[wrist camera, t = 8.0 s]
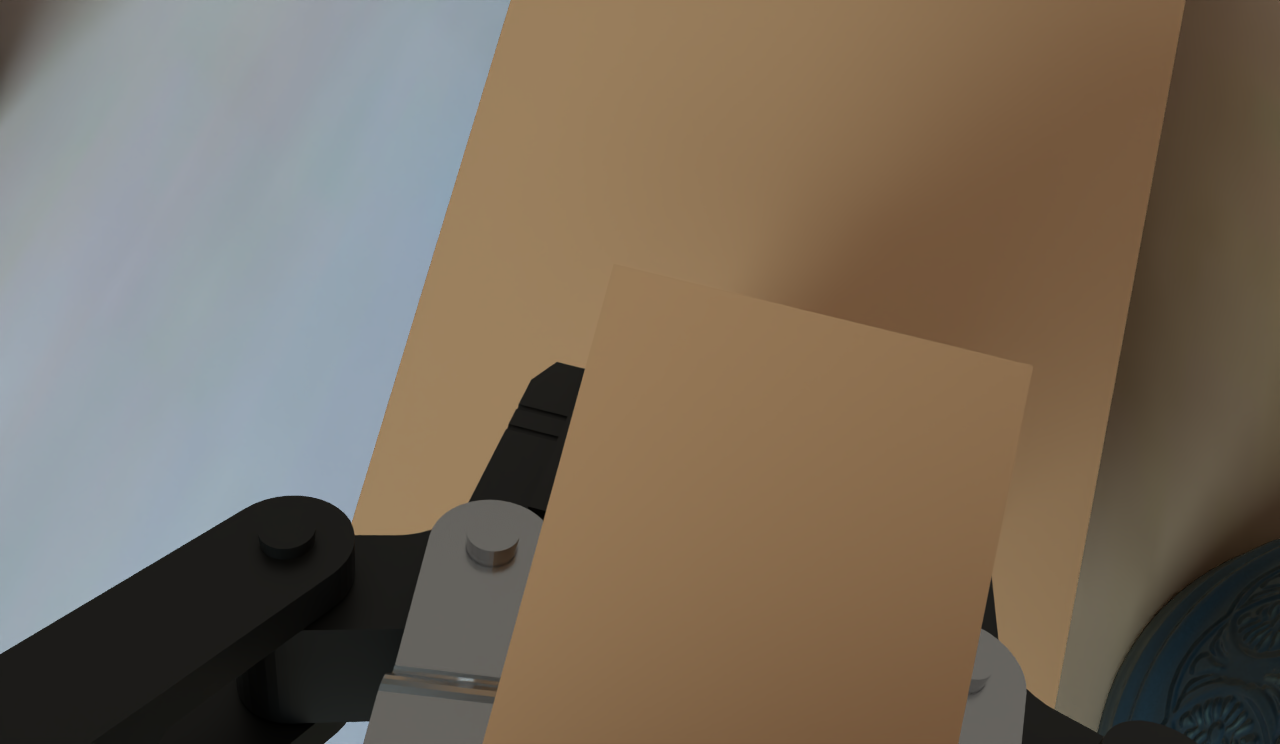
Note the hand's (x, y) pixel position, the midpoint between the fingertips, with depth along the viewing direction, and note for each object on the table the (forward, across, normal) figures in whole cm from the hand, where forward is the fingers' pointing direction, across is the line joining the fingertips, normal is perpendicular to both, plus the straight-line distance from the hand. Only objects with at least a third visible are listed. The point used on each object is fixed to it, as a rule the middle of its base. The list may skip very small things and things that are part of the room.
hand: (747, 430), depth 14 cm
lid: (+8, 0, +1) cm, 8 cm away
